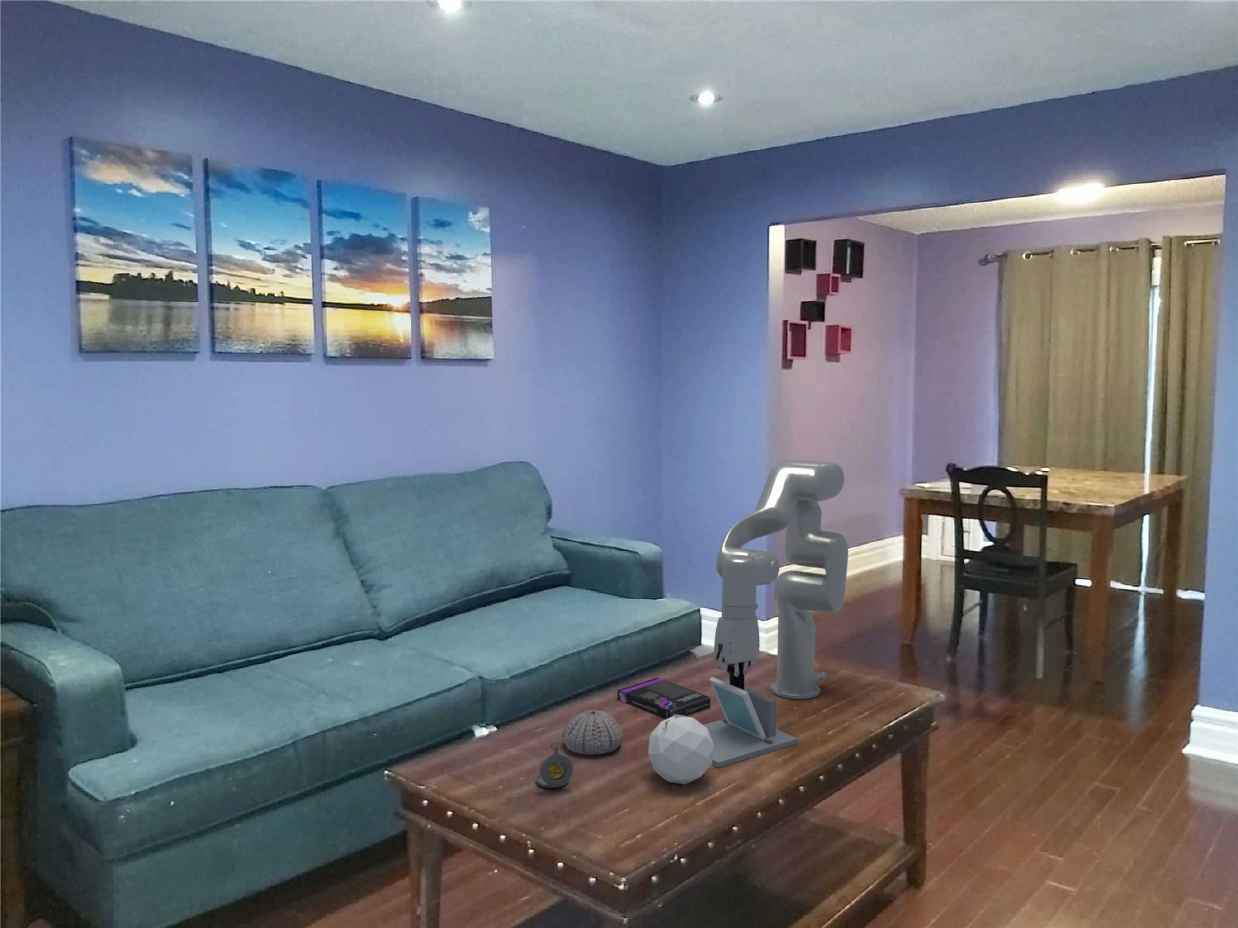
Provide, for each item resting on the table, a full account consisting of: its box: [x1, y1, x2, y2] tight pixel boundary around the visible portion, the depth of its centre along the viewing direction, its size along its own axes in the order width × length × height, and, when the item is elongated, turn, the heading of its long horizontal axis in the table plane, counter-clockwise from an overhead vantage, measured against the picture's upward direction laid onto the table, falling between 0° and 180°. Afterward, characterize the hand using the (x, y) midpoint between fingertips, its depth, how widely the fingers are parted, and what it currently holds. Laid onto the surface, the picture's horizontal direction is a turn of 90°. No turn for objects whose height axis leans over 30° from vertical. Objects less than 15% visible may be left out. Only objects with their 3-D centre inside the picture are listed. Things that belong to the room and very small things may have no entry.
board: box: [702, 687, 798, 769], centre depth 213 cm, size 23×18×9 cm
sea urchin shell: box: [561, 709, 624, 756], centre depth 211 cm, size 13×14×8 cm
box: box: [616, 676, 711, 720], centre depth 238 cm, size 14×4×20 cm
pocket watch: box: [535, 741, 574, 789], centre depth 191 cm, size 8×8×10 cm
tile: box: [708, 676, 766, 740], centre depth 214 cm, size 13×12×1 cm
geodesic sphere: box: [647, 714, 714, 785], centre depth 193 cm, size 14×14×14 cm
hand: (736, 691), depth 213 cm, fingers closed
